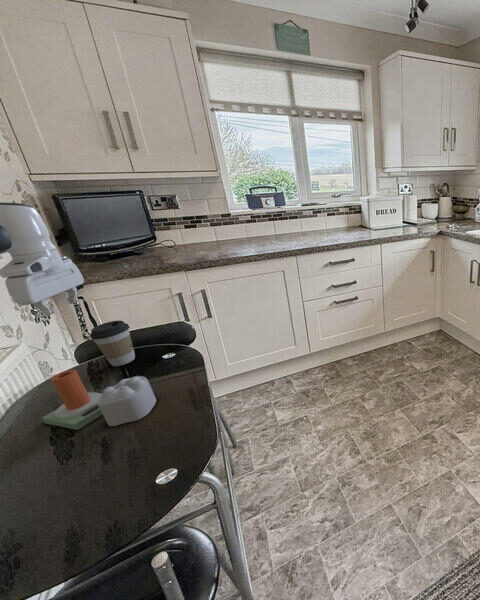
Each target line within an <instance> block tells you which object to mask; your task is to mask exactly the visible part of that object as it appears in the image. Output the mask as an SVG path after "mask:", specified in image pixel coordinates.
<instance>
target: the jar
mask: <svg viewBox="0 0 480 600" xmlns="http://www.w3.org/2000/svg"><path fill="white" fill-rule="evenodd" d="M50 381H51V383H52V385H53V387H54V388H55V390H56V392H57V394H58V396H59V397H60V399H61V401H62V402H63V404H64V405H65V406H66V408H67V409H68V410H73V409H77V408H80V407H82V406H84V405H86V404H87V403H88V402H90V400H91V399H90V397H89V395H88V391H87V389H86V388H85V386H84V383H83V381H82V380H81V377H80V375H79V373H78V372H77V370H76V369H69V370H64V371H62V372H59V373H57V374H55V375H53V376H52V377H51V378H50Z"/></svg>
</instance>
